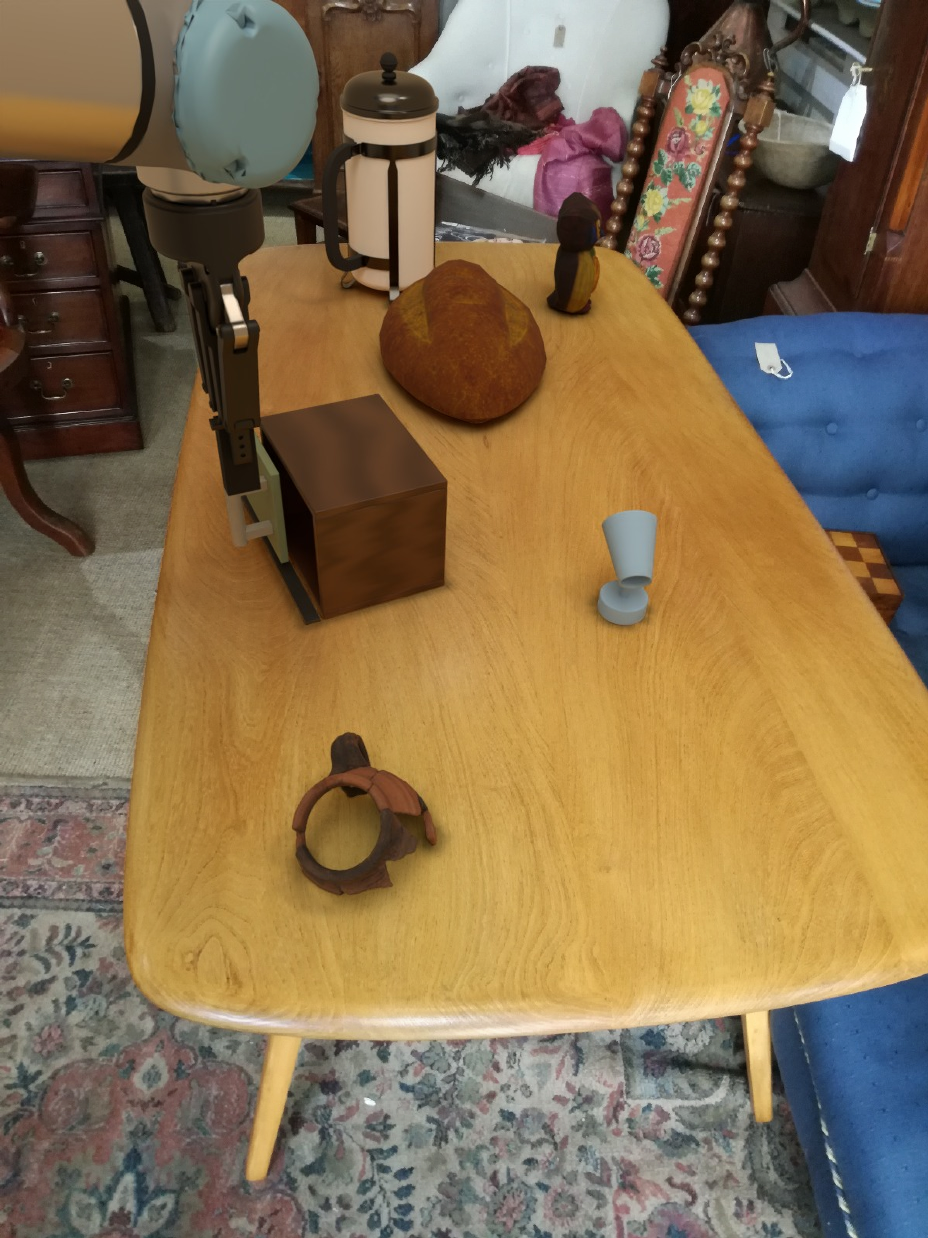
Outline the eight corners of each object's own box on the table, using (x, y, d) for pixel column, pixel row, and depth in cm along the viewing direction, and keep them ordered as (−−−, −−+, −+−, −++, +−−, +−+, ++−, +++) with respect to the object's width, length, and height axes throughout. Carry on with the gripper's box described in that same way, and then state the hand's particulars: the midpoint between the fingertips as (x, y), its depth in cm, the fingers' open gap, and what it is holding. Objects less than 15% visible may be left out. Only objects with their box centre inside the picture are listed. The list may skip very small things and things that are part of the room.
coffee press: (337, 264, 142) (324, 35, 121) (442, 266, 143) (447, 40, 122) (328, 314, 129) (312, 69, 109) (443, 317, 130) (449, 74, 110)
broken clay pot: (463, 876, 66) (423, 858, 59) (347, 930, 67) (294, 919, 60) (409, 729, 72) (367, 696, 65) (303, 781, 73) (250, 755, 66)
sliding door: (241, 574, 87) (227, 485, 80) (199, 482, 97) (183, 396, 90) (289, 561, 88) (279, 473, 82) (242, 473, 99) (230, 388, 92)
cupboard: (305, 625, 84) (294, 517, 75) (241, 498, 97) (225, 395, 89) (444, 585, 88) (448, 480, 80) (364, 469, 102) (360, 369, 94)
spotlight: (589, 581, 90) (599, 631, 85) (604, 495, 83) (616, 544, 78) (640, 581, 90) (653, 630, 85) (658, 496, 83) (675, 544, 78)
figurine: (593, 325, 130) (609, 215, 120) (543, 321, 130) (555, 210, 120) (595, 296, 137) (610, 189, 127) (548, 291, 137) (559, 185, 127)
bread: (376, 434, 107) (373, 333, 99) (381, 309, 131) (379, 219, 123) (558, 436, 108) (570, 336, 100) (530, 312, 132) (538, 222, 124)
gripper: (288, 211, 57) (312, 521, 73) (231, 149, 66) (263, 439, 82) (164, 225, 55) (217, 544, 71) (121, 158, 63) (177, 456, 79)
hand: (242, 487), depth 76 cm, fingers closed
